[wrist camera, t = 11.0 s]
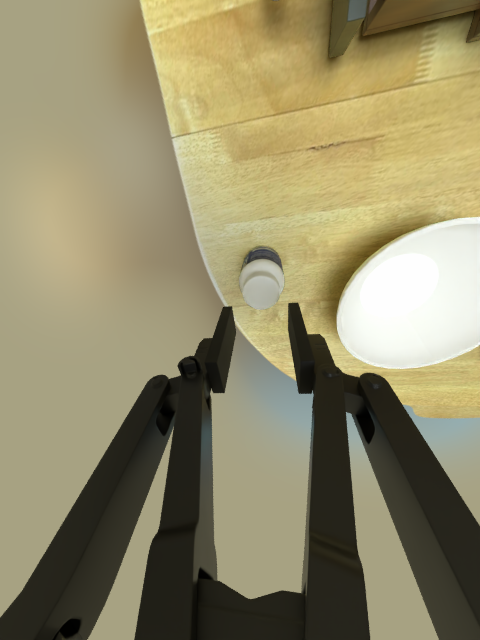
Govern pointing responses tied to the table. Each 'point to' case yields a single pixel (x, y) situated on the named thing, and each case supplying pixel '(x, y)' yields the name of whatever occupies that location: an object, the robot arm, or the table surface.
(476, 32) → the cabinet
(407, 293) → the bowl
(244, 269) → the pill bottle
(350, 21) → the drawer
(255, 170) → the table surface
